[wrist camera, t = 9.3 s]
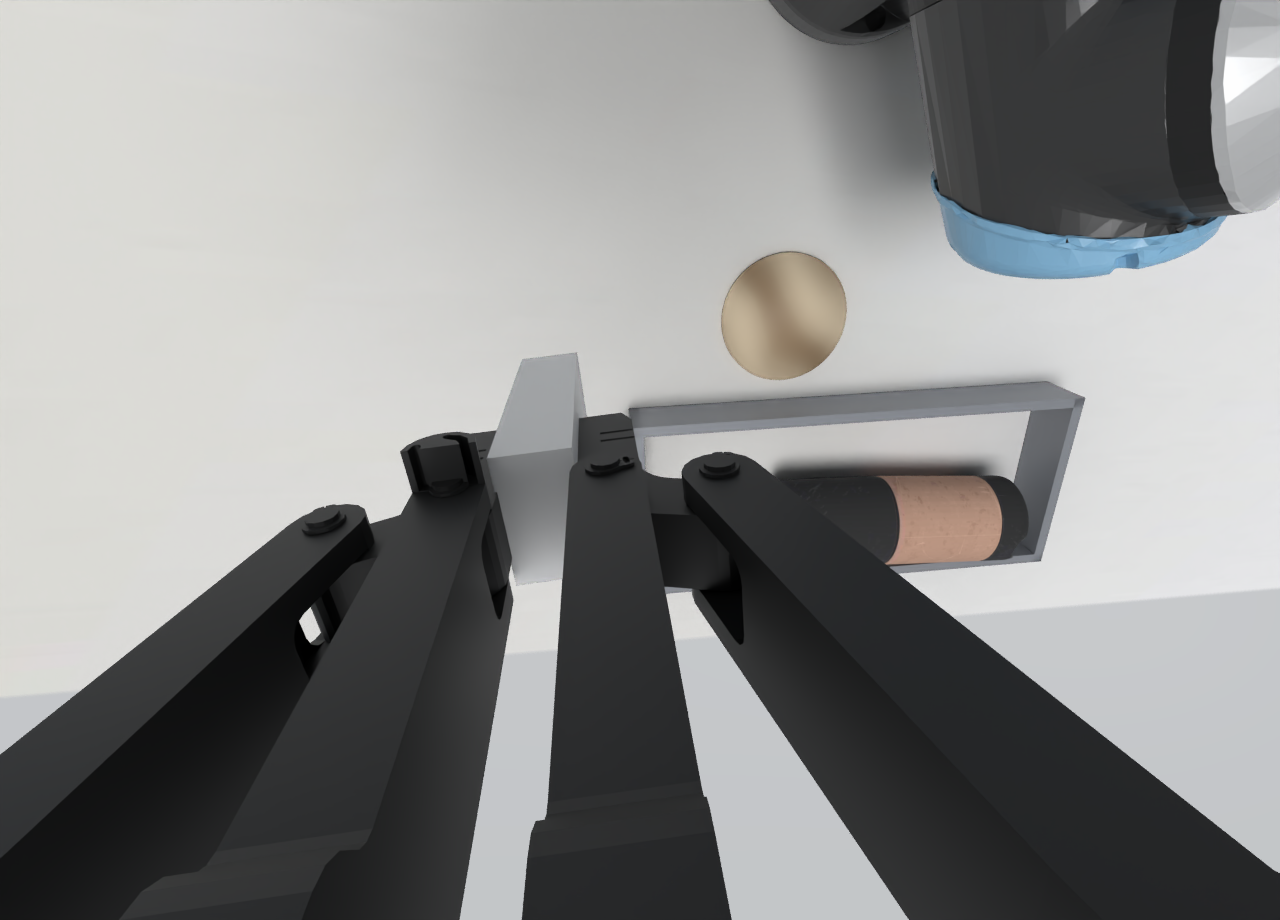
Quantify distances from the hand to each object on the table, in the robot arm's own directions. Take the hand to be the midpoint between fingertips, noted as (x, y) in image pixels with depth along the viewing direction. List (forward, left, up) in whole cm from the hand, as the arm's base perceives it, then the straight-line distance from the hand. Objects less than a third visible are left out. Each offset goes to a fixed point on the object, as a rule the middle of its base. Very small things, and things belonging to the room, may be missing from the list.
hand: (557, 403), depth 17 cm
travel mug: (+6, +26, -28) cm, 39 cm away
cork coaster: (-7, +16, -32) cm, 36 cm away
